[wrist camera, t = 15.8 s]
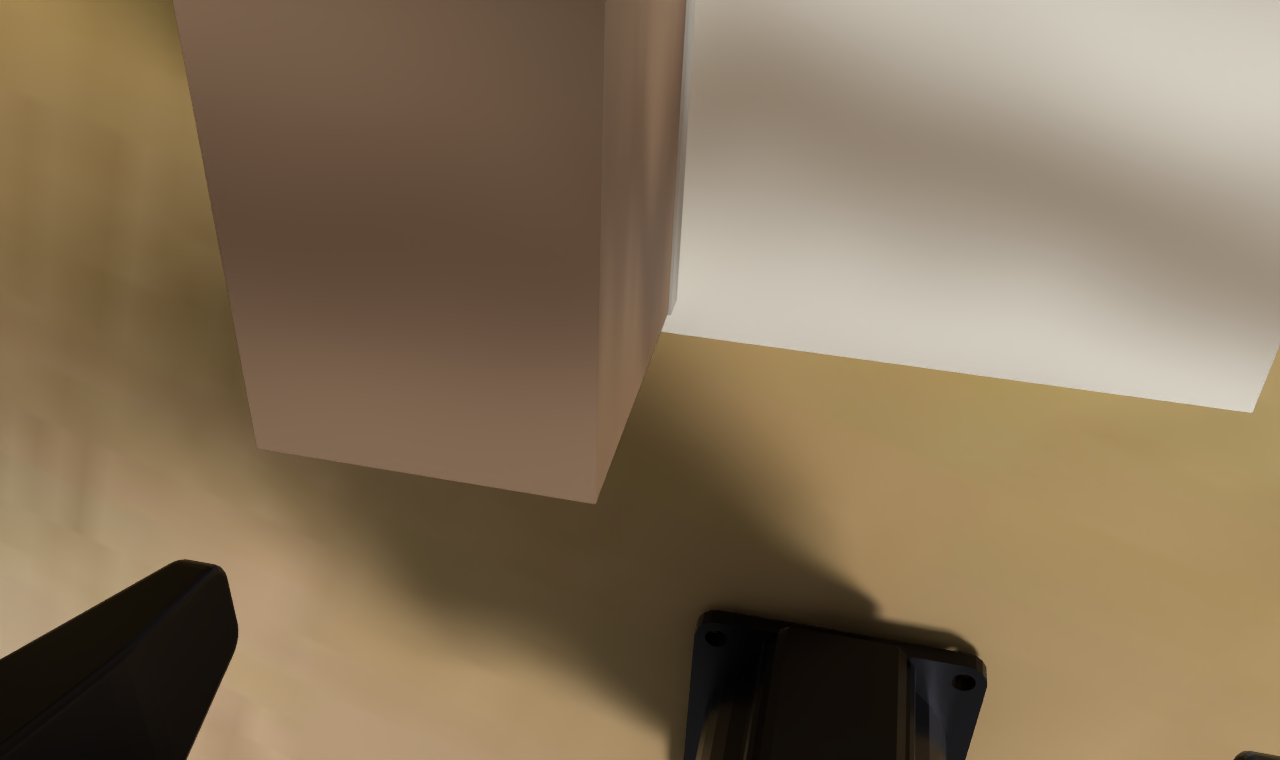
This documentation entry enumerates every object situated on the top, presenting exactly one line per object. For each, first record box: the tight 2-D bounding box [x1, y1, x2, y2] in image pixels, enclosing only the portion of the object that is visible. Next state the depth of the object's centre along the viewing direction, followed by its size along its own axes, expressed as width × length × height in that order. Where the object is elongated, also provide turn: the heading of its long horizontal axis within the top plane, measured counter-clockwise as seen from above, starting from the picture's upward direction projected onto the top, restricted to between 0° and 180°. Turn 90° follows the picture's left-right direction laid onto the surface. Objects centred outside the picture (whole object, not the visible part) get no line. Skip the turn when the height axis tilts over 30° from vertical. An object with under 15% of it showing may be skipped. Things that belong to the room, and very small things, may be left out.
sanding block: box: [173, 0, 696, 504], centre depth 16 cm, size 7×5×6 cm
